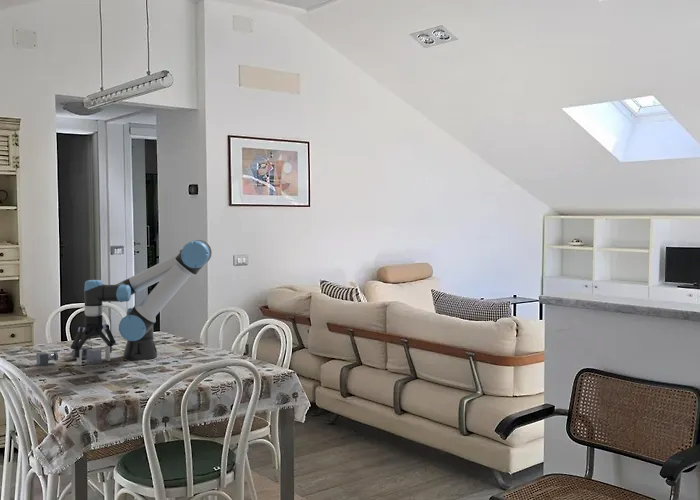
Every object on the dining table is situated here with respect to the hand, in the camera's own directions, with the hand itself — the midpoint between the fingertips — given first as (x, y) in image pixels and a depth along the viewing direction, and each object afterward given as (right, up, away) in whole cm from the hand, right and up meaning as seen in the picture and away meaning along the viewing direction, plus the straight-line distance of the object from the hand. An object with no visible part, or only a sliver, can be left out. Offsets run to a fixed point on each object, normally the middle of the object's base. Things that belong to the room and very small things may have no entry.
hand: (93, 362), depth 320 cm
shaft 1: (-19, 0, -3) cm, 19 cm away
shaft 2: (-9, 0, +8) cm, 12 cm away
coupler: (0, 0, 0) cm, 0 cm away
